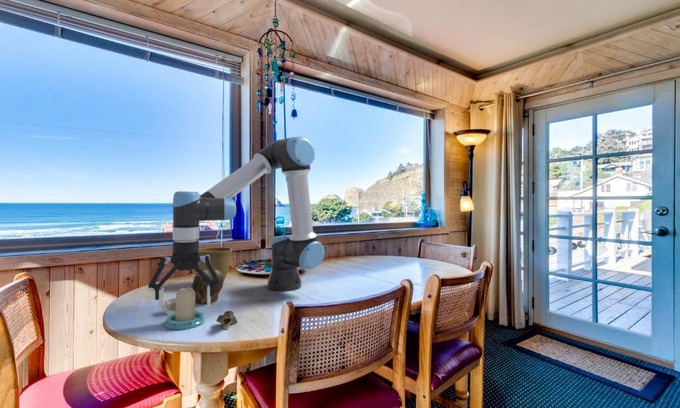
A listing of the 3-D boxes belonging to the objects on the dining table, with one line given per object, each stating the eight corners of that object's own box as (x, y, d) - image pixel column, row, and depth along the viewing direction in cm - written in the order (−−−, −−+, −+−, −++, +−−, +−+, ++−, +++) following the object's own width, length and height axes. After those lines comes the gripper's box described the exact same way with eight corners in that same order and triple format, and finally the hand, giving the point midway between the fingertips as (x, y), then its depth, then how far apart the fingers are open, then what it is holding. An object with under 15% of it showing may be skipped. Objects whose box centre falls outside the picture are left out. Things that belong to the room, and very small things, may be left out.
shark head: (237, 333, 98) (241, 312, 98) (214, 332, 96) (219, 310, 96) (236, 321, 105) (240, 301, 105) (216, 320, 103) (220, 300, 103)
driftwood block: (180, 308, 116) (180, 297, 116) (184, 312, 113) (184, 301, 112) (164, 311, 113) (164, 300, 113) (168, 315, 109) (168, 303, 109)
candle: (189, 315, 107) (190, 284, 107) (198, 319, 103) (198, 288, 103) (172, 320, 103) (172, 288, 102) (180, 324, 99) (181, 291, 99)
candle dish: (205, 315, 110) (205, 309, 110) (202, 327, 99) (202, 321, 99) (169, 318, 106) (169, 312, 106) (161, 331, 96) (161, 324, 96)
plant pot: (231, 287, 144) (231, 251, 144) (194, 289, 140) (194, 252, 140) (232, 279, 159) (233, 246, 158) (199, 280, 155) (200, 247, 154)
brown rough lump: (212, 306, 119) (213, 273, 119) (185, 304, 121) (186, 271, 121) (228, 297, 130) (229, 267, 129) (203, 295, 132) (204, 265, 132)
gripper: (228, 238, 110) (227, 301, 110) (144, 239, 102) (143, 307, 103) (227, 241, 103) (227, 308, 103) (137, 243, 95) (136, 315, 95)
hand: (185, 308), depth 103 cm, fingers open, 13 cm apart
